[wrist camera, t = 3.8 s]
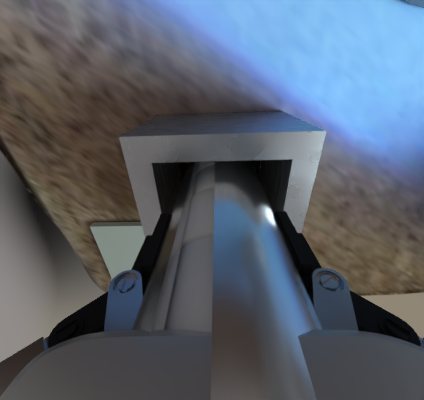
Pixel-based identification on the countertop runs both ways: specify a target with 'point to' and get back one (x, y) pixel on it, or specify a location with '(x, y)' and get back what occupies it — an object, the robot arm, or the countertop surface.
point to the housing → (223, 157)
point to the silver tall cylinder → (232, 285)
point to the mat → (118, 244)
